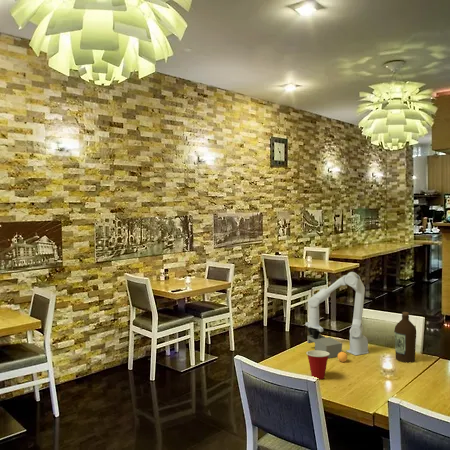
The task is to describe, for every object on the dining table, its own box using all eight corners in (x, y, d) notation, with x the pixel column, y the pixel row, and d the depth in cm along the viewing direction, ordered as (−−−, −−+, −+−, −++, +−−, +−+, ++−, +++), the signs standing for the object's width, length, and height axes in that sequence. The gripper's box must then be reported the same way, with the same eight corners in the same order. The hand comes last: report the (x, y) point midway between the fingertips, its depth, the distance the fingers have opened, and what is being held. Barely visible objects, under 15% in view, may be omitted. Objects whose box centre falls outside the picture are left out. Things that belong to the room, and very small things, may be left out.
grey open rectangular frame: (320, 343, 255) (321, 332, 254) (341, 355, 238) (342, 343, 237) (305, 346, 251) (306, 334, 250) (325, 358, 234) (326, 346, 233)
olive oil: (404, 355, 238) (404, 309, 237) (420, 361, 228) (421, 313, 227) (389, 358, 233) (390, 311, 232) (405, 364, 224) (405, 315, 223)
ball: (343, 359, 233) (343, 349, 232) (349, 362, 228) (349, 352, 228) (335, 360, 231) (335, 351, 230) (341, 363, 226) (341, 354, 226)
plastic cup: (328, 373, 213) (328, 348, 213) (331, 382, 203) (331, 356, 202) (305, 372, 215) (305, 348, 214) (307, 381, 204) (307, 355, 203)
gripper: (301, 315, 256) (301, 338, 257) (315, 321, 243) (315, 345, 244) (311, 314, 259) (311, 337, 260) (326, 319, 246) (326, 343, 247)
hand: (314, 341), depth 252 cm, fingers closed on grey open rectangular frame
